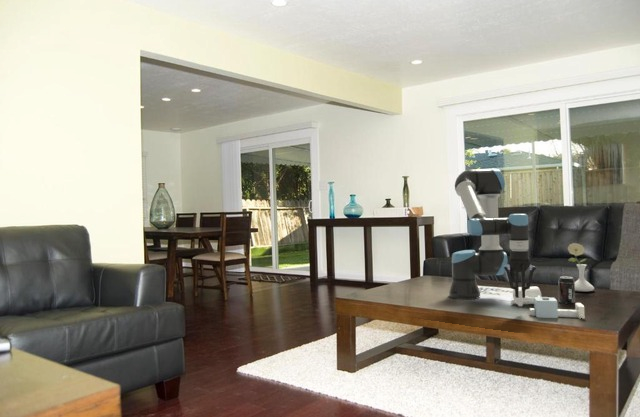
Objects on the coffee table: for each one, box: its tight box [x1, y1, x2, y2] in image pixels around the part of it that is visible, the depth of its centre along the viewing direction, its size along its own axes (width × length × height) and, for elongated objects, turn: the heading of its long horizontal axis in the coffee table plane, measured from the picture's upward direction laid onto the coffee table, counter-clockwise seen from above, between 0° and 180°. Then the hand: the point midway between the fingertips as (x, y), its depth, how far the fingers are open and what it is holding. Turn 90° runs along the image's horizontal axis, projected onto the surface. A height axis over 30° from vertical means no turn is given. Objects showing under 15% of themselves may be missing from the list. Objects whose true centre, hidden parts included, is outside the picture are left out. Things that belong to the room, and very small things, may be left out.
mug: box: [512, 286, 543, 306], centre depth 230 cm, size 12×10×8 cm
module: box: [533, 296, 559, 319], centre depth 209 cm, size 8×7×8 cm
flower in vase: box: [567, 242, 595, 293], centre depth 259 cm, size 13×11×25 cm
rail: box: [529, 302, 586, 320], centre depth 208 cm, size 20×7×5 cm, turn 73°
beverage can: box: [557, 275, 576, 305], centre depth 232 cm, size 7×7×12 cm
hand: (520, 305), depth 212 cm, fingers closed
